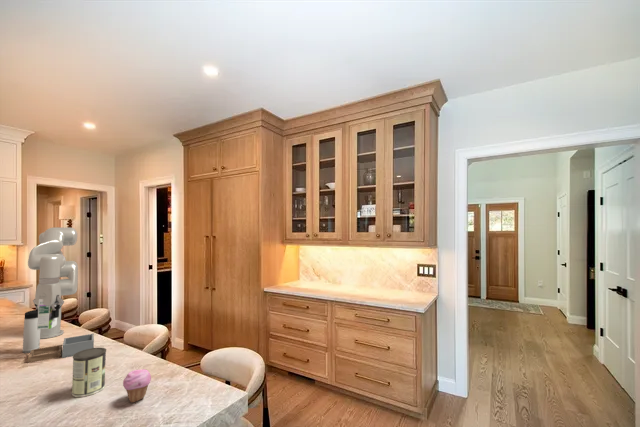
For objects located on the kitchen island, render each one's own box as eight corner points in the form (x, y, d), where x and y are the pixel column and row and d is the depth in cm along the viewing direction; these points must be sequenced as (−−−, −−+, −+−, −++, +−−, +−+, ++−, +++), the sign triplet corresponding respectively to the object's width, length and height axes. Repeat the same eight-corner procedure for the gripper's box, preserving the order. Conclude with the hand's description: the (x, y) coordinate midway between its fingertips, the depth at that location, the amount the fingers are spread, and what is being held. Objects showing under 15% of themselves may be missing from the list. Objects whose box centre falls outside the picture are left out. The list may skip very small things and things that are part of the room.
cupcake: (119, 398, 112) (120, 370, 112) (146, 389, 118) (147, 363, 118) (126, 408, 106) (127, 378, 106) (153, 399, 112) (154, 370, 112)
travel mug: (43, 348, 159) (45, 309, 160) (30, 353, 152) (32, 312, 153) (32, 348, 159) (34, 308, 161) (18, 353, 153) (21, 312, 154)
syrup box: (36, 330, 147) (38, 299, 147) (43, 326, 153) (45, 296, 153) (50, 329, 149) (52, 298, 149) (57, 325, 154) (58, 295, 155)
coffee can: (87, 382, 123) (89, 346, 124) (111, 384, 122) (112, 347, 123) (63, 396, 113) (65, 357, 114) (89, 398, 112) (91, 358, 113)
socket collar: (31, 355, 151) (31, 349, 151) (62, 349, 157) (62, 344, 158) (27, 363, 141) (27, 357, 141) (60, 357, 148) (60, 351, 148)
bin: (63, 350, 156) (64, 338, 157) (93, 345, 164) (93, 333, 164) (62, 358, 147) (62, 345, 147) (93, 352, 154) (93, 340, 154)
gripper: (26, 281, 149) (24, 318, 148) (57, 283, 146) (55, 320, 146) (42, 279, 156) (40, 314, 156) (72, 280, 154) (70, 316, 153)
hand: (47, 317), depth 151 cm, fingers closed on syrup box, 7 cm apart
